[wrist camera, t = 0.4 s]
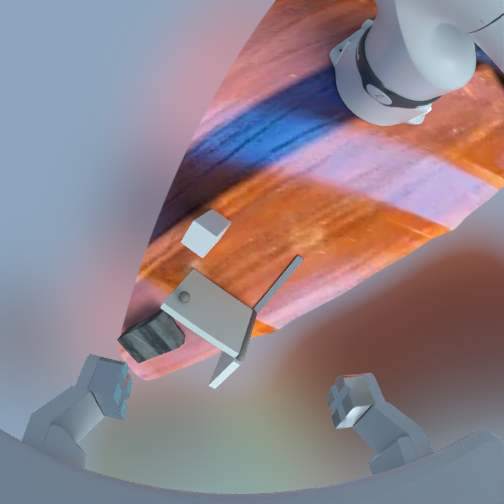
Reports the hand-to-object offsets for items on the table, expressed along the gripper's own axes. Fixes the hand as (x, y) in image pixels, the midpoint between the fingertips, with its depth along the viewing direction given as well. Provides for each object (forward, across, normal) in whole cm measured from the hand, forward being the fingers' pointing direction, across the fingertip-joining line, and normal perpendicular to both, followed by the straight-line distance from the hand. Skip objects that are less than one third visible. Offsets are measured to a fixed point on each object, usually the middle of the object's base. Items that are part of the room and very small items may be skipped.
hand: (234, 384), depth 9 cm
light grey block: (+38, +2, +10) cm, 39 cm away
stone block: (+38, +12, +38) cm, 55 cm away
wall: (+34, -9, +22) cm, 42 cm away
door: (+35, -1, +22) cm, 42 cm away
